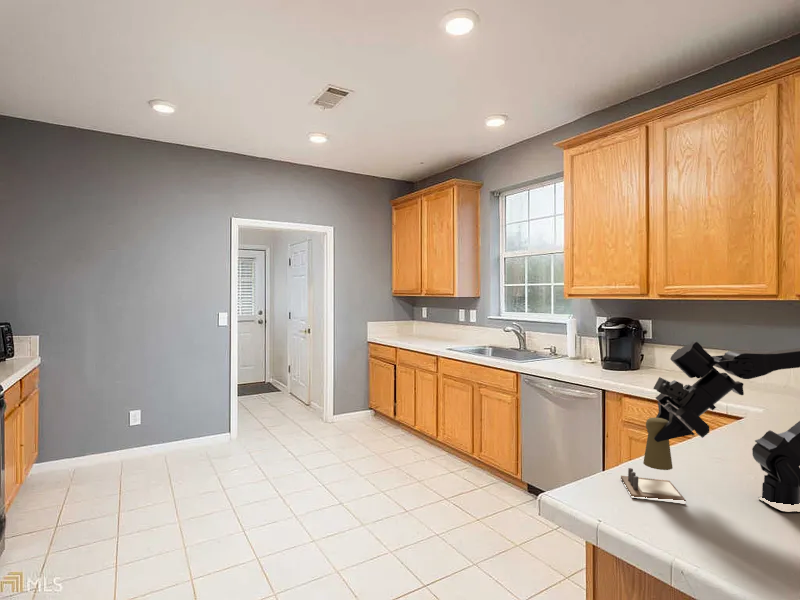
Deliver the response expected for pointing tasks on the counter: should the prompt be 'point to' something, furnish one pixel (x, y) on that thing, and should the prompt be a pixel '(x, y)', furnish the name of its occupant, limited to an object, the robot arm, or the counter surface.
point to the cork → (657, 446)
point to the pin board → (650, 487)
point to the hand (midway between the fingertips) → (651, 436)
